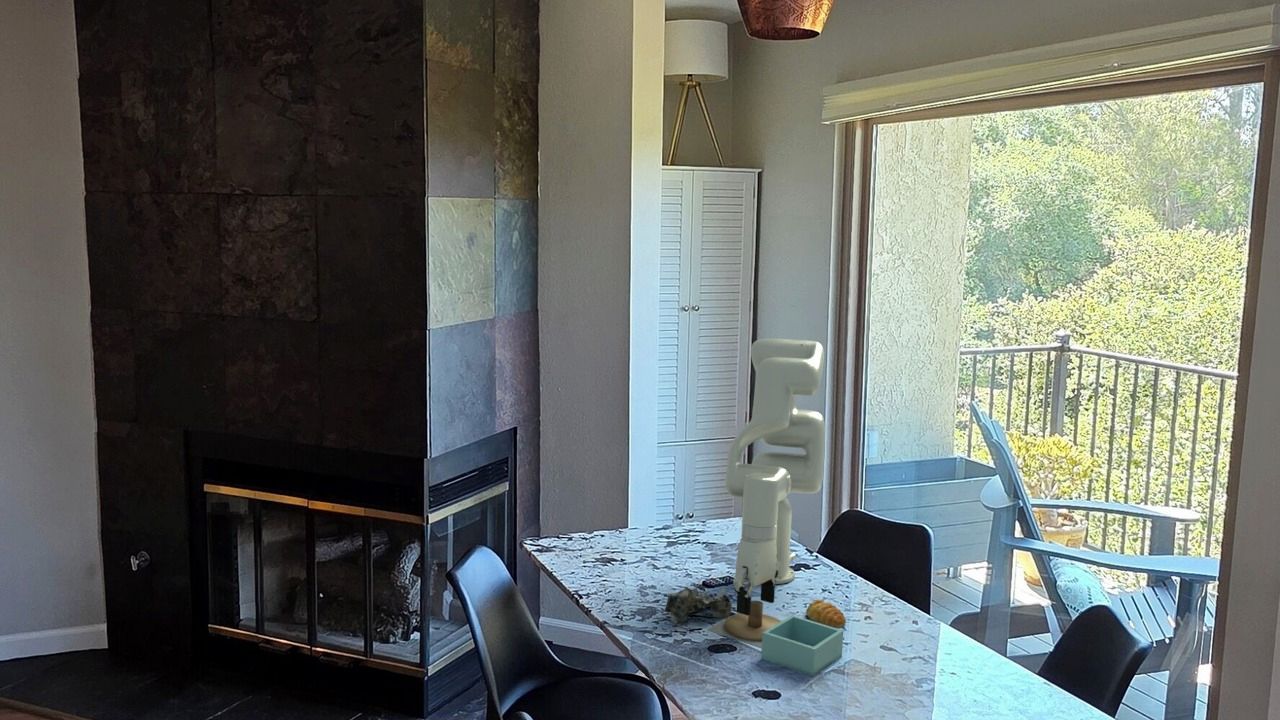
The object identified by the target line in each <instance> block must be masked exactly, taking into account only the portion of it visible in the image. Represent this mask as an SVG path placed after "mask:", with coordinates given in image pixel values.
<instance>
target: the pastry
mask: <svg viewBox="0 0 1280 720" xmlns="http://www.w3.org/2000/svg"><path fill="white" fill-rule="evenodd" d="M805 614H806V616H807V618H808V619H810V621H814V622H817V623H820V624H823V625H827V626H830V627H833V628H837V629H840V628H842V627H844V626H845V624H846V622H847V619H846V617H845V614H844V613H843V612H841V610H840V609H839V608H837V606H836V605H834V604H832V603H830V602H824V600H821V599H815V600H814V601H812V602H811V603H810V604H809V605H808V606H807V608H806V610H805Z"/></svg>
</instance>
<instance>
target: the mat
mask: <svg viewBox="0 0 1280 720" xmlns="http://www.w3.org/2000/svg"><path fill="white" fill-rule="evenodd" d="M737 614H741V613H738V612H736V613H735V614H733V615H732V616H734V615H737ZM727 619H728V618H725V619H724V620H722V621H720V622H718V623H717V624H715V625H713V626H711V627H709V628H707V629H706V630H707V631H709V632H712V633H715V634H718V635H721V636H724V637H727V638H730V639H733V640H736V641H738V642H741V643H744V644H748V645H751V646H754V647H757V648H760V649H762V641H751V640H745V639H741V638H738V637H735V636H733V635H731V634H730V633H728V632H727V631H726V629H725V622H726V620H727Z"/></svg>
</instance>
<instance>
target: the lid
mask: <svg viewBox="0 0 1280 720" xmlns="http://www.w3.org/2000/svg"><path fill="white" fill-rule="evenodd" d="M763 608H764V602H763V601H760V600H751V613H750V615H748V616H747V615H744V614H737V613H736V614H737V615H735V614H733V615H734V616H733V615H732V616H729V617H727V618H726V619H727V620H726V619H725V620H726V622H725V629H726V631H727V632H728V633H730V634H731V635H733V636H735V637H738V638H741V639H745V640H751V641H762V633H763V632H764V631H766V630H768V629H769V628H771V627H773V626H774V625H776V624H778V623H780V622H781V621H782V620H781V619H779V618H777V617H774V616H771V615H768V614H764V611H763Z"/></svg>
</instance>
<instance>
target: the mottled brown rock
mask: <svg viewBox="0 0 1280 720" xmlns="http://www.w3.org/2000/svg"><path fill="white" fill-rule="evenodd" d="M717 592H718V594H717V595H716V596H714V597H712V596H710V594H706V593H705V592H703V591H701V593H700V594H699V589H698V588H697V586H695V588H694V589H691V588H689V586H686V587H684V589H682V590H680V591H677V592H670V593H668V594H667V600H666V605H665V608H664V613H670V614H669V615H670V617H671V618H670V620H669V621H670V622H671V623H672V624H677V625H675V626H676V627H682V625H683V623H684V621H685V619H686V618H687V616H688V615H689V614H691V613H696V612H697V613H700V612H701V608H702V609H704V610H706V608H711V610H712V611H713V613H712V618H713V617H714V618H718V619H719V618H721V619H728V618H729V617H731V616H730V615H731V611H732V607H733V604H732V602H731V600H732V599H731V597H730V596H729V594H728V592H727V590H726V589H725V587H724V586H723V587H722V589H721V590H720V591H717Z"/></svg>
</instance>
